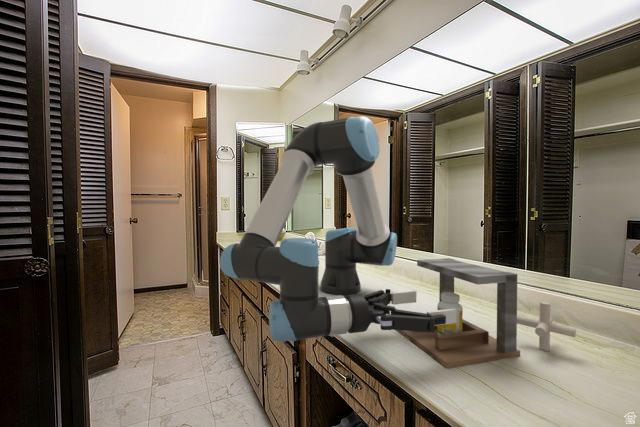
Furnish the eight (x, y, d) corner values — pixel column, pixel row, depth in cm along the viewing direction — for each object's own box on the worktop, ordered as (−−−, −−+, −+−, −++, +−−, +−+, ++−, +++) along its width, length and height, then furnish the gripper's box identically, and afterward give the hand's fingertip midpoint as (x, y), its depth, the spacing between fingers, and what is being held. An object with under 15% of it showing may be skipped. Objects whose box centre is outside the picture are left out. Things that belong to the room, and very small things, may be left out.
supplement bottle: (447, 342, 64) (447, 298, 64) (432, 332, 69) (432, 291, 69) (467, 339, 65) (468, 296, 65) (451, 329, 70) (451, 290, 70)
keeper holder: (392, 327, 74) (393, 261, 74) (451, 320, 79) (452, 258, 79) (446, 368, 55) (447, 279, 55) (520, 355, 60) (521, 273, 60)
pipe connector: (511, 348, 63) (512, 302, 63) (521, 334, 70) (522, 293, 70) (572, 366, 56) (573, 314, 56) (577, 349, 63) (577, 303, 63)
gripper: (327, 311, 71) (402, 304, 77) (372, 363, 47) (477, 346, 53) (327, 281, 71) (403, 276, 77) (373, 317, 47) (477, 306, 53)
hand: (433, 305), depth 65 cm, fingers open, 13 cm apart
